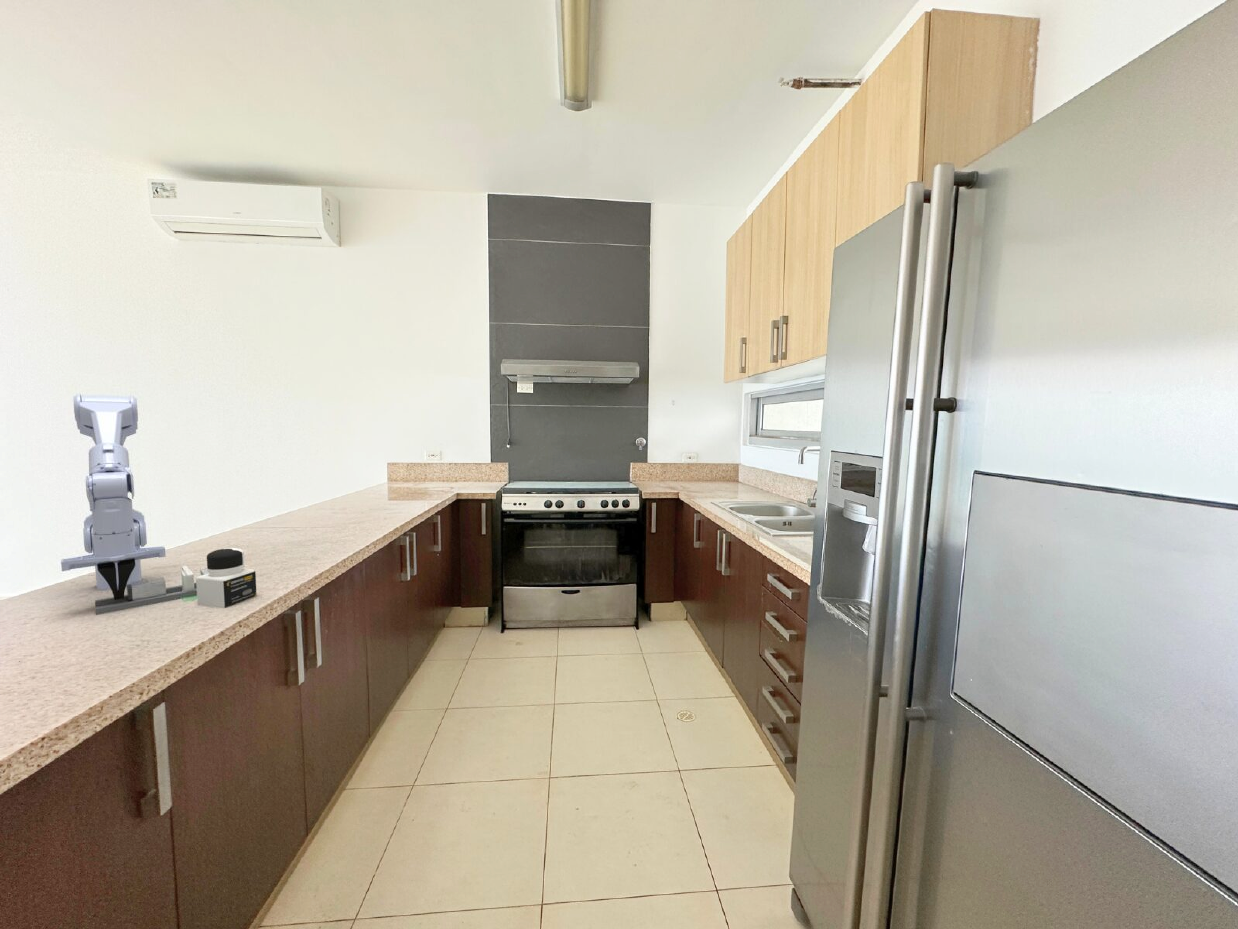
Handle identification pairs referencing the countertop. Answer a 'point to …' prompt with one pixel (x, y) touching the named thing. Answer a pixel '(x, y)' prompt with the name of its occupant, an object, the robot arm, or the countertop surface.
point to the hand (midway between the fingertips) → (118, 598)
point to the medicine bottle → (225, 579)
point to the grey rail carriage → (146, 589)
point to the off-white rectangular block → (187, 579)
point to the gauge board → (148, 601)
